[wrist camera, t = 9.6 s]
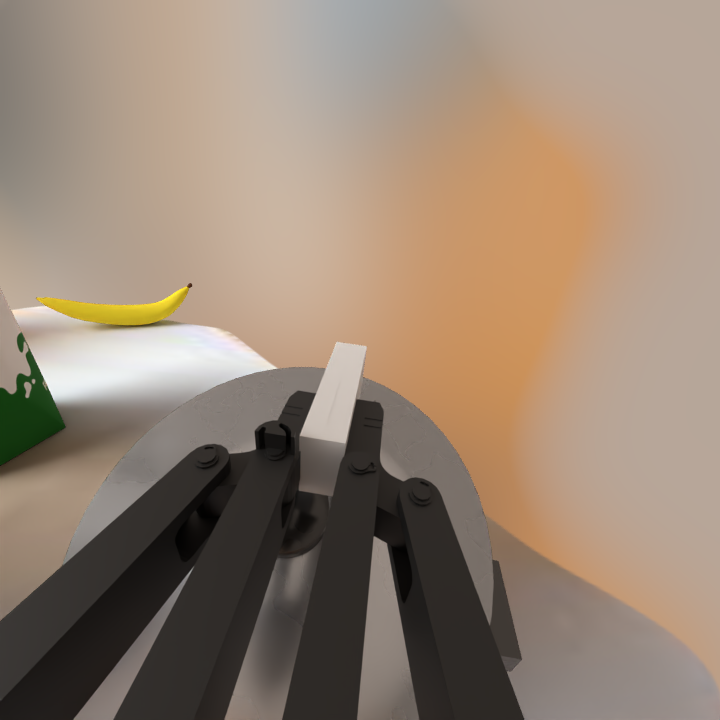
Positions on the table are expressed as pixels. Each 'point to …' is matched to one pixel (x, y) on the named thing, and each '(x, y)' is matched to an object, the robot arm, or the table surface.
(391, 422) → the lid
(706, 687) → the table surface
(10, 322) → the milk carton
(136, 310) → the banana
